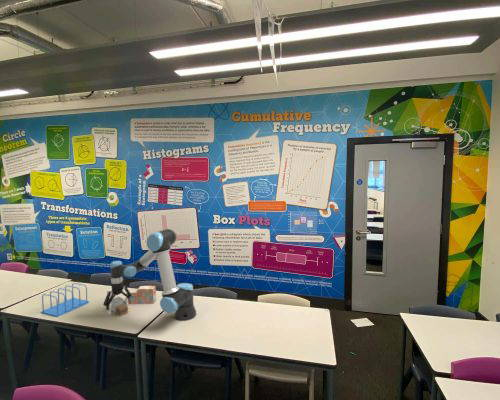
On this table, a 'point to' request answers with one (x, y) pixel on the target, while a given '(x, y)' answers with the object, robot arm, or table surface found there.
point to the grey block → (116, 302)
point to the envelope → (128, 309)
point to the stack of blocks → (143, 295)
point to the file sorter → (64, 303)
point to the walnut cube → (121, 309)
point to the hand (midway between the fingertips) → (118, 310)
